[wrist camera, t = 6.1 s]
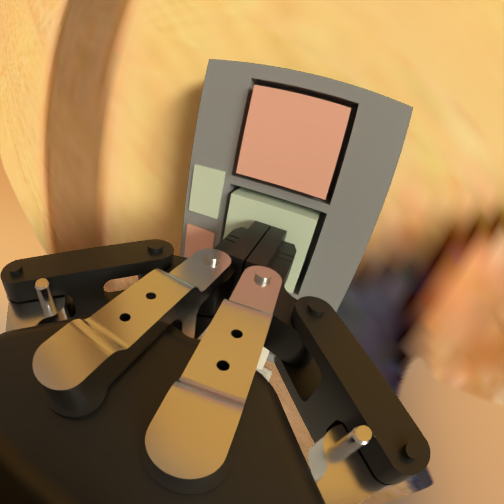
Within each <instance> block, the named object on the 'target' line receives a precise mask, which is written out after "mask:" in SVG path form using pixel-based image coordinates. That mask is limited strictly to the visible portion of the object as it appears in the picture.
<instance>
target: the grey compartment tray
mask: <svg viewBox="0 0 504 504" xmlns="http://www.w3.org/2000/svg"><path fill="white" fill-rule="evenodd" d="M254 85H259V86H265V87H271V88H276V89H281V90H286V91H290V92H295V93H299V94H303V95H307V96H311V97H315V98H319V99H323V100H326V101H330V102H333V103H337V104H340V105H343V106H347V107H350V108H351V111H350V115H349V119H348V123H347V127H346V130H345V134H344V138H343V141H342V145H341V149H340V152H339V156H338V159H337V163H336V166H335V169H334V173H333V176H332V180H331V183H330V186H329V189H328V193H327V196H326V199H325V200H324V199H321V198H318V197H315V196H312V195H309V194H306V193H303V192H299V191H296V190H293V189H290V188H287V187H283V186H280V185H277V184H273V183H270V182H266V181H263V180H260V179H256V178H252V177H249V176H245V175H242V174H238V173H236V171H237V165H238V160H239V155H240V150H241V145H242V140H243V135H244V130H245V126H246V121H247V116H248V111H249V107H250V102H251V98H252V93H253V88H254ZM412 110H413V107H411V106H409V105H406V104H404V103H401V102H399V101H397V100H394V99H391V98H389V97H386V96H384V95H381V94H378V93H375V92H372V91H369V90H367V89H364V88H360V87H357V86H354V85H351V84H348V83H344V82H341V81H337V80H334V79H330V78H326V77H322V76H318V75H314V74H310V73H305V72H301V71H296V70H291V69H286V68H281V67H275V66H269V65H262V64H255V63H247V62H238V61H228V60H216V59H209V62H208V66H207V71H206V76H205V81H204V86H203V91H202V96H201V101H200V107H199V112H198V118H197V124H196V130H195V136H194V142H193V149H192V156H191V163H190V170H189V178H188V186H187V194H186V203H185V212H184V222H183V233H182V244H181V257H186V258H189V257H190V256H192V255H193V254H194V253H196V252H197V251H199V250H202V249H214V248H215V247H216V246H217V245H218V244H219V243H220V242H221V241H222V240H223V237H224V231H225V226H226V220H227V214H228V209H229V203H230V198H231V193H233V192H234V191H236V190H237V189H239V188H240V187H244V188H248V189H251V190H255V191H258V192H261V193H265V194H268V195H271V196H274V197H278V198H281V199H284V200H287V201H290V202H294V203H297V204H300V205H303V206H306V207H309V208H312V209H315V210H318V211H320V215H319V218H318V221H317V224H316V227H315V230H314V233H313V236H312V239H311V242H310V245H309V248H308V251H307V254H306V257H305V260H304V263H303V266H302V269H301V271H300V274H299V277H298V280H297V283H296V285H295V288H294V291H293V293H290V292H288V293H289V294H290V295H291V296H293V297H294V298H296V299H297V300H298V299H299V298H301V297H305V296H313V297H317V298H320V299H322V300H324V301H326V302H327V303H328V304H330V305H331V307H332V308H333V309H334V310H335V312H336V311H337V309H338V307H339V305H340V303H341V301H342V299H343V297H344V295H345V293H346V291H347V289H348V287H349V285H350V283H351V281H352V278H353V276H354V274H355V272H356V270H357V267H358V265H359V263H360V261H361V258H362V256H363V254H364V251H365V249H366V247H367V244H368V242H369V240H370V237H371V235H372V232H373V230H374V227H375V225H376V222H377V220H378V217H379V214H380V212H381V209H382V206H383V204H384V201H385V198H386V195H387V193H388V190H389V187H390V184H391V181H392V178H393V175H394V172H395V169H396V166H397V163H398V160H399V157H400V153H401V150H402V147H403V143H404V140H405V136H406V133H407V129H408V126H409V122H410V118H411V114H412ZM266 360H267V361H270V362H273V363H275V362H274V354H273V353H272V352H269V354H268V357H267V359H266Z"/></svg>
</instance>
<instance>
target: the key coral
mask: <svg viewBox="0 0 504 504" xmlns="http://www.w3.org/2000/svg"><path fill="white" fill-rule="evenodd" d="M350 111H351V108H350V107H347V106H343V105H340V104H337V103H333V102H330V101H326V100H323V99H319V98H315V97H311V96H307V95H303V94H299V93H295V92H290V91H286V90H281V89H276V88H271V87H265V86H259V85H254V88H253V93H252V98H251V102H250V107H249V111H248V116H247V121H246V126H245V130H244V135H243V140H242V145H241V150H240V155H239V160H238V165H237V171H236V173H238V174H242V175H245V176H249V177H252V178H256V179H260V180H263V181H266V182H270V183H273V184H277V185H280V186H283V187H287V188H290V189H293V190H296V191H299V192H303V193H306V194H309V195H312V196H315V197H318V198H321V199H324V200H325V199H326V196H327V193H328V189H329V186H330V183H331V180H332V176H333V173H334V169H335V166H336V163H337V159H338V156H339V152H340V149H341V145H342V141H343V138H344V134H345V130H346V127H347V123H348V119H349V115H350Z"/></svg>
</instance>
